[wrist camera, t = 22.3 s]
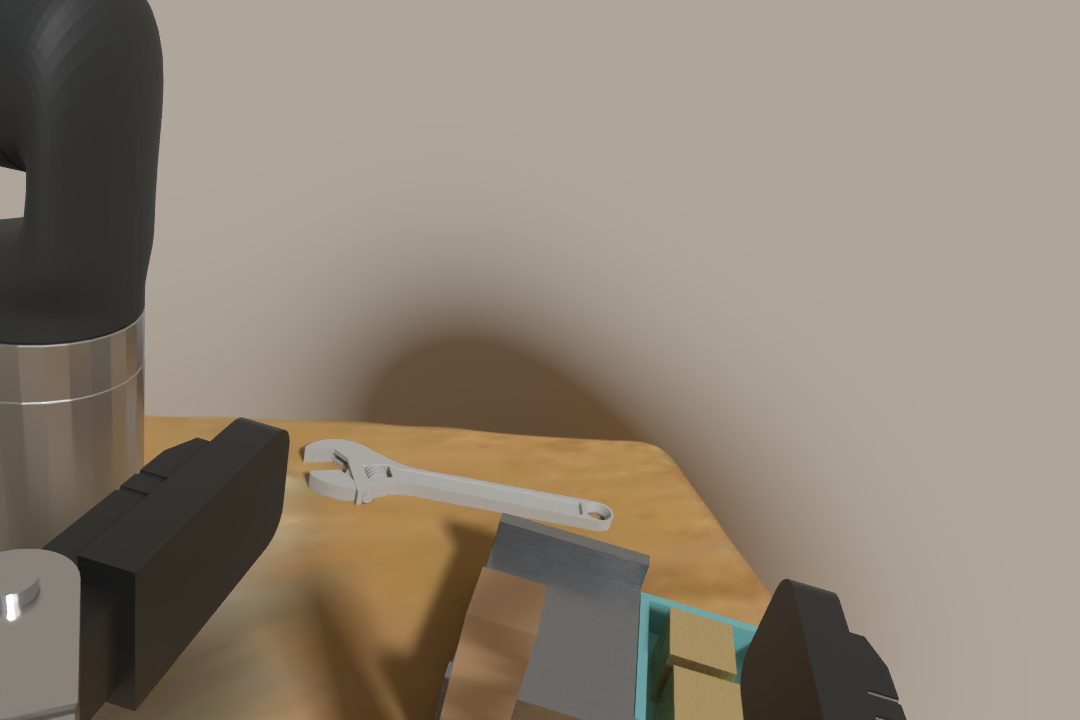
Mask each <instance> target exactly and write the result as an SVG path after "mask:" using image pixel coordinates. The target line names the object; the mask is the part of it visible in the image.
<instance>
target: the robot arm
mask: <svg viewBox="0 0 1080 720" xmlns="http://www.w3.org/2000/svg"><path fill="white" fill-rule="evenodd" d="M162 104H163V56H162V49H161V43H160V36H159V31H158V27H157V24H156V21H155V18H154V15H153V12H152V10H151V7H150V5H149V3H148V2H147V0H0V166H1V167H6V168H10V169H15V170H19V171H24V172H26V199H25V210H24V217H21V218H12V219H1V220H0V720H90V719H91V718H92V717H93V716H94V715H95V713H96V712H97V711H98V710H99V709H100V708H101V706H102V705H103V704H104V703H105V702H108V703H111V704H114V705H117V706H120V707H124V708H127V709H130V710H133V711H136V709H137V708H138V707H139V706H140V704H141V703H142V702H143V701H144V699H145V698H146V697H147V696H148V694H149V693H150V692H151V691H152V689H153V688H154V687H155V686H156V684H157V683H158V682H159V681H160V679H161V678H162V677H163V676H164V674H165V673H166V672H167V671H168V669H169V668H170V667H171V666H172V665H173V663H174V662H175V661H176V660H177V658H178V657H179V656H180V655H181V653H182V652H183V651H184V650H185V648H186V647H187V646H188V645H189V643H190V642H191V641H192V640H193V638H194V637H195V636H196V635H197V633H198V632H199V631H200V630H201V628H202V627H203V626H204V625H205V623H206V622H207V621H208V620H209V618H210V617H211V616H212V615H213V614H214V612H215V611H216V610H217V609H218V607H219V606H220V605H221V604H222V602H223V601H224V600H225V599H226V597H227V596H228V595H229V594H230V592H231V591H232V590H233V589H234V587H235V586H236V585H237V584H238V582H239V581H240V580H241V579H242V577H243V576H244V575H245V574H246V572H247V571H248V570H249V569H250V567H251V566H252V565H253V564H254V563H255V561H256V560H257V559H258V558H259V556H260V555H261V554H262V553H263V551H264V550H265V549H266V547H267V546H268V545H269V543H270V541H271V540H272V538H273V536H274V534H275V532H276V529H277V527H278V524H279V521H280V518H281V514H282V509H283V501H284V491H285V482H286V472H287V462H288V453H289V442H290V440H289V434H288V432H287V431H286V430H283V429H280V428H276V427H273V426H269V425H266V424H263V423H259V422H256V421H252V420H249V419H246V418H238V419H236V420H235V421H233V422H232V423H231V424H230V425H229V426H228V427H226V428H225V429H224V430H223V431H222V432H221V433H219V434H218V435H217V436H216V437H215V438H214V439H212V440H211V441H207V440H203V439H200V438H195V439H193V440H190V441H188V442H185V443H182V444H180V445H177V446H175V447H172V448H169V449H167V450H164V451H163V452H162V453H161V454H159V455H158V456H157V457H156V458H154V459H153V460H152V461H151V462H149V463H148V464H147V465H146V466H144V376H145V367H144V366H145V357H144V336H145V335H144V334H145V332H144V331H145V330H144V329H145V320H144V319H145V307H144V306H145V281H146V275H147V270H148V265H149V260H150V255H151V250H152V244H153V236H154V219H155V197H156V182H157V167H158V154H159V143H160V131H161V119H162ZM740 692H741V702H742V710H743V719H744V720H906V717H905V715H904V712H903V709H902V706H901V705H900V704H898V699H899V698H898V695H897V692H896V690H895V687H894V684H893V681H892V678H891V675H890V673H889V670H888V667H887V666H886V665H885V663H884V662H883V661H882V659H881V658H880V657H879V655H878V654H877V653H876V651H875V650H874V649H873V647H872V646H871V645H870V643H869V642H868V641H867V640H866V638H865V637H864V636H860V635H857V634H854V633H850V632H849V629H848V626H847V623H846V620H845V617H844V613H843V610H842V607H841V604H840V601H839V598H838V596H837V595H836V594H835V593H833V592H830V591H826V590H823V589H820V588H816V587H813V586H810V585H806V584H803V583H799V582H796V581H793V580H789V579H784V580H783V581H781V583H780V584H779V585H778V587H777V589H776V591H775V593H774V595H773V597H772V599H771V601H770V603H769V605H768V607H767V610H766V612H765V614H764V616H763V618H762V620H761V622H760V624H759V626H758V628H757V631H756V633H755V635H754V637H753V639H752V641H751V643H750V645H749V647H748V650H747V652H746V655H745V658H744V662H743V666H742V672H741V681H740Z"/></svg>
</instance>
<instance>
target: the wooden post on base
mask: <svg viewBox="0 0 1080 720" xmlns="http://www.w3.org/2000/svg"><path fill="white" fill-rule="evenodd" d="M547 587H548V586H546V585H543V584H540V583H536V582H533V581H530V580H526V579H523V578H520V577H516V576H513V575H510V574H506V573H503V572H500V571H496V570H493V569H489V568H486V567H483V568H482V571H481V573H480V576H479V579H478V582H477V585H476V587H475V590H474V593H473V596H472V599H471V601H470V604H469V607H468V610H467V612H466V616H465V620H464V624H463V628H462V632H461V636H460V640H459V644H458V648H457V652H456V656H455V660H454V664H453V668H452V672H451V676H450V680H449V684H448V688H447V692H446V696H445V700H444V704H443V708H442V712H441V716H440V720H511V717H512V714H513V710H514V707H515V704H516V701H517V697H518V694H519V691H520V688H521V684H522V681H523V678H524V675H525V671H526V668H527V665H528V662H529V658H530V655H531V652H532V649H533V645H534V642H535V639H536V636H537V632H538V627H539V623H540V618H541V614H542V609H543V605H544V600H545V596H546V591H547Z"/></svg>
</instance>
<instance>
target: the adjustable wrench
mask: <svg viewBox="0 0 1080 720" xmlns="http://www.w3.org/2000/svg"><path fill="white" fill-rule="evenodd" d="M331 461H333V462H334V463H336V464H337V465H339V466H340V467H341V468H343V469H344V470H346V472H345V473H344V472H342V471H341V470H315V471H310V473H309V480H308V486H309V488H310V489H312V490H313V491H315V492H317V493H319V494H321V495H324V496H327V497H330V498H334V499H339V500H345V501H355V504H356V505H360V504H362V503H363V502H364V503H369V502H371V501H372V500H373V498H376V497H381V496H386V495H408V496H415V497H420V498H426V499H431V500H436V501H441V502H447V503H452V504H457V505H462V506H468V507H473V508H478V509H483V510H489V511H494V512H499V513H506V514H510V515H515V516H520V517H525V518H531V519H536V520H541V521H546V522H552V523H557V524H562V525H567V526H573V527H578V528H583V529H588V530H593V531H606V530H607V529H609V527H610V525H611V522H612V519H613V512H612V510H611V509H610V508H609V507H607V506H606V505H604V504H602V503H599V502H595V501H589V500H584V499H578V498H573V497H568V496H562V495H557V494H551V493H546V492H540V491H535V490H530V489H524V488H519V487H513V486H508V485H502V484H497V483H492V482H486V481H481V480H475V479H470V478H464V477H459V476H454V475H448V474H443V473H437V472H432V471H426V470H421V469H416V468H412V467H408V466H405V465H403V464H400V463H398V462H395V461H393V460H391V459H388V458H386V457H384V456H382V455H380V454H378V453H376V452H374V451H372V450H370V449H368V448H367V447H365V446H363V445H361V444H358V443H356V442H352V441H348V440H342V439H327V440H321V441H316V442H313V443H311V444H309V445H307V446H306V447H305V453H304V461H303V463H307V462H331ZM588 514H596V515H599V516H601V517H602V518H603V519H604V520H598V519H595V518H593V517H591V516H590V515H588Z"/></svg>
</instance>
